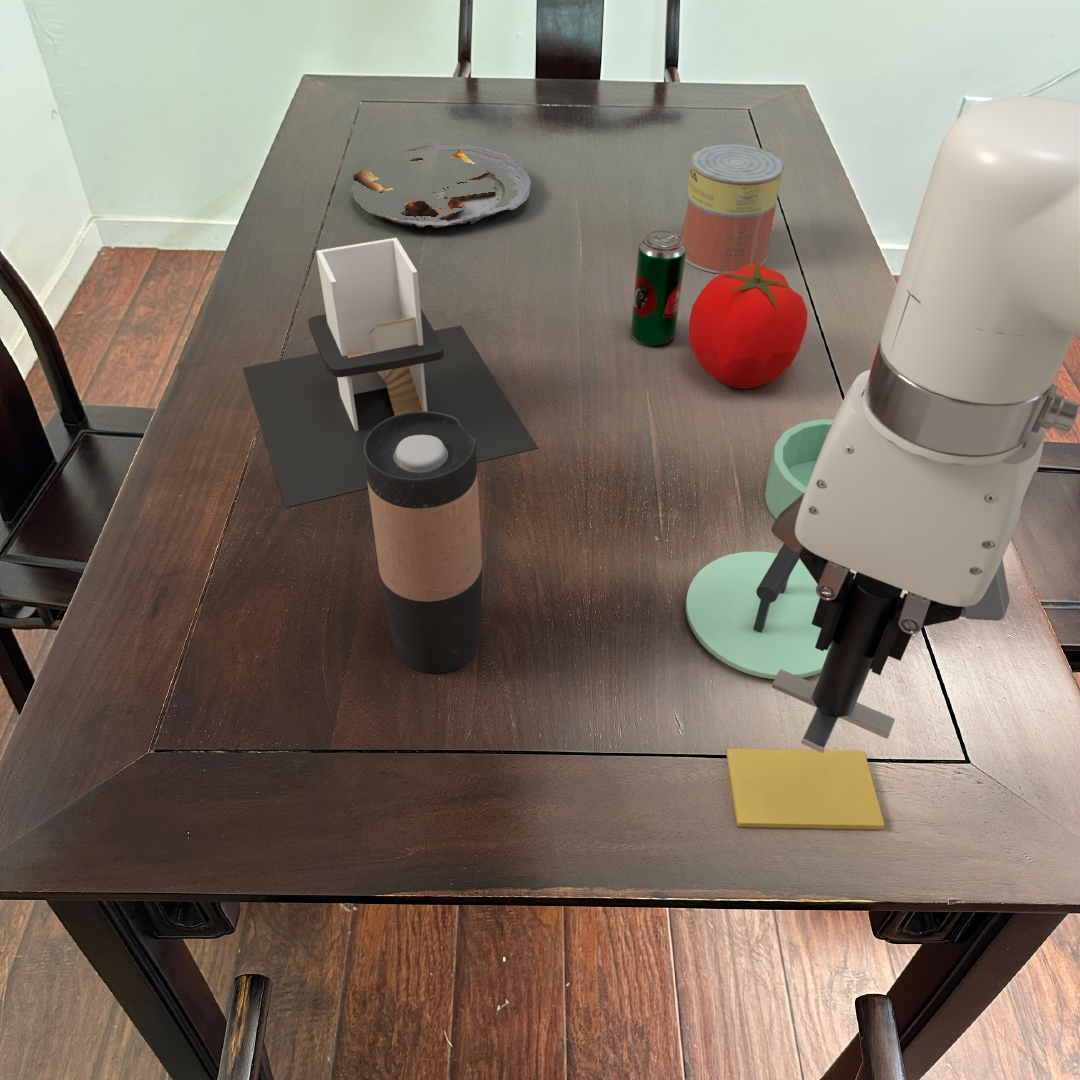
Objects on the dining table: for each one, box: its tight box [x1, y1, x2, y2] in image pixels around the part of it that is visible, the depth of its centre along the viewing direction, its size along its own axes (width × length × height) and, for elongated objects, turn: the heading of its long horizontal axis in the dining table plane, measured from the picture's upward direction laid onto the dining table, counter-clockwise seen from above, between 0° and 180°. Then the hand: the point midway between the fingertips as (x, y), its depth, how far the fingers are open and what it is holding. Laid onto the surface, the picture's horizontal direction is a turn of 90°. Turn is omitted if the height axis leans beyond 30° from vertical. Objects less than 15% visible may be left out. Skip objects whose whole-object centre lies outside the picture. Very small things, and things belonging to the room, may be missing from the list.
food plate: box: [352, 144, 532, 229], centre depth 135 cm, size 25×23×4 cm
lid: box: [685, 543, 831, 680], centre depth 78 cm, size 14×14×6 cm
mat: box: [726, 748, 885, 831], centre depth 68 cm, size 10×6×1 cm, turn 89°
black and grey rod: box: [771, 571, 904, 753], centre depth 57 cm, size 8×8×12 cm
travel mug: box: [364, 411, 483, 674], centre depth 71 cm, size 8×8×20 cm
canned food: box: [681, 142, 785, 275], centre depth 121 cm, size 11×11×12 cm
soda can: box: [630, 229, 686, 347], centre depth 107 cm, size 5×5×12 cm
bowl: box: [764, 418, 834, 520], centre depth 89 cm, size 13×13×5 cm
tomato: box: [687, 264, 808, 389], centre depth 102 cm, size 12×13×12 cm
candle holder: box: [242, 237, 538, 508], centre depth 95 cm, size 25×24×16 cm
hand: (855, 644), depth 57 cm, fingers closed on black and grey rod, 2 cm apart
